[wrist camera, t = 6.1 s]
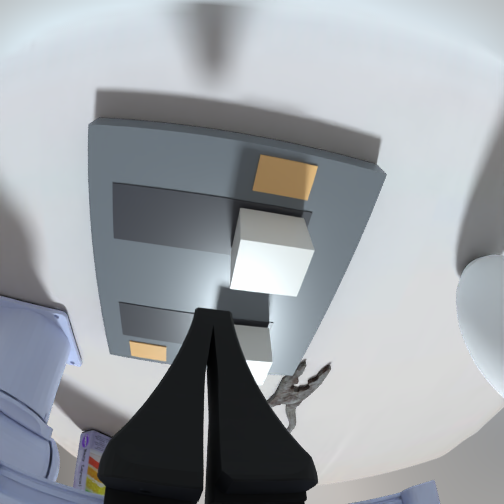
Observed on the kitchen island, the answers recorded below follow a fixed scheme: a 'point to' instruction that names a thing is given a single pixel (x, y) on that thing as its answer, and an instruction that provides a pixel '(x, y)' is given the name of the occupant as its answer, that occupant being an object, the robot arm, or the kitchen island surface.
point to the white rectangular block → (270, 253)
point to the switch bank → (213, 230)
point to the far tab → (256, 350)
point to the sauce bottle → (484, 316)
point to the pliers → (296, 392)
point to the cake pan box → (90, 462)
